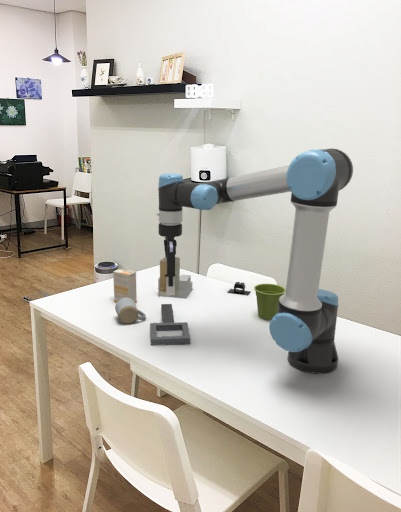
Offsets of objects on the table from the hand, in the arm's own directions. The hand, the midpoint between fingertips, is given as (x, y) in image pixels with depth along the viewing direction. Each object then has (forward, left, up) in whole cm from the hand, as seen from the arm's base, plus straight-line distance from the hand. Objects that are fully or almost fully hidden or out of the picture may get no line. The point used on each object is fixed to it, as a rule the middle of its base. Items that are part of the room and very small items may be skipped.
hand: (169, 290), depth 162 cm
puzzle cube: (+43, -5, -17) cm, 47 cm away
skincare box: (0, 0, -1) cm, 1 cm away
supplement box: (+33, +16, -17) cm, 40 cm away
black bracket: (+42, -32, -17) cm, 56 cm away
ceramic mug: (+15, +13, -17) cm, 26 cm away
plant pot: (+15, -38, -17) cm, 44 cm away
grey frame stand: (+9, 0, -17) cm, 19 cm away
